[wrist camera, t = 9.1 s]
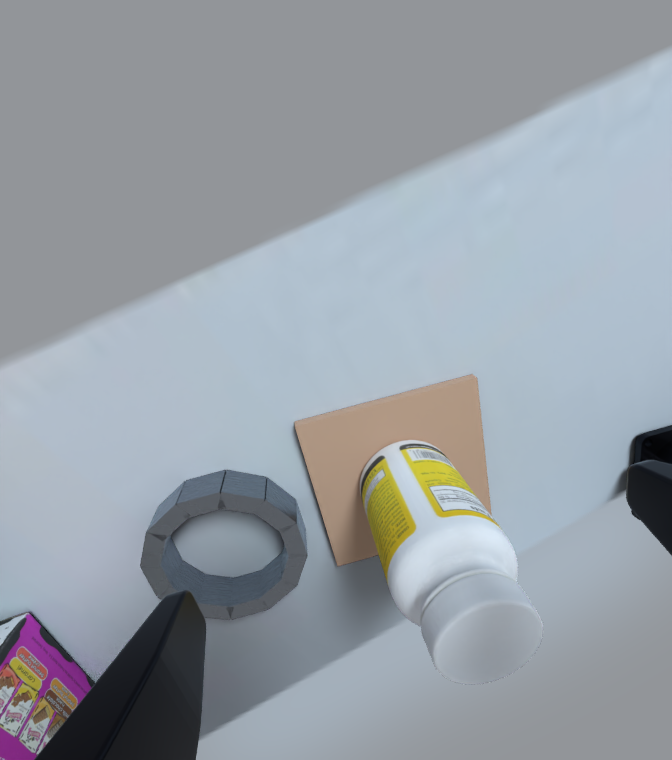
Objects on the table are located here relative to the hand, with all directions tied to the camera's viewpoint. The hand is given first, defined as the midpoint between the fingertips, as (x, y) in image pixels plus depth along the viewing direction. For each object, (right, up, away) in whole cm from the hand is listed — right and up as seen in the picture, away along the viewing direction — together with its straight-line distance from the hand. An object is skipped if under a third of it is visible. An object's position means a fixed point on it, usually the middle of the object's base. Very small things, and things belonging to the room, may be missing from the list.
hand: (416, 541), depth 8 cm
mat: (+2, -2, +15) cm, 15 cm away
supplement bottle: (+2, -2, +15) cm, 15 cm away
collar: (-8, -6, +15) cm, 18 cm away
